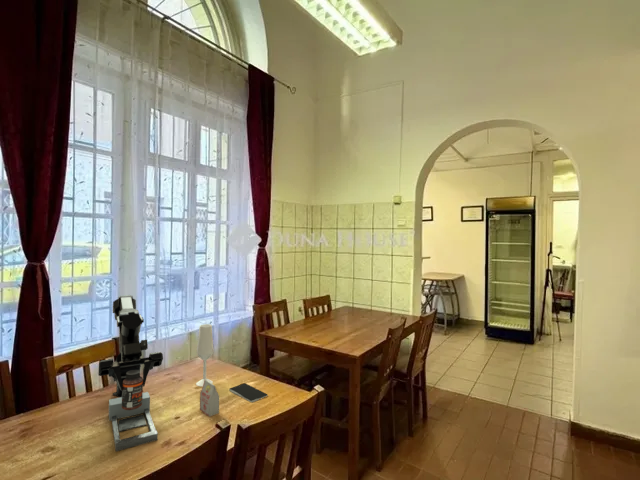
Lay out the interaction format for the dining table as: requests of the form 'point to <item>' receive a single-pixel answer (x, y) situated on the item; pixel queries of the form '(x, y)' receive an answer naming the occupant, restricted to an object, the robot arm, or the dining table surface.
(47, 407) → the dining table surface
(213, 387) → the tea bag
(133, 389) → the supplement bottle
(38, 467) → the dining table surface
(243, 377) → the dining table surface
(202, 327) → the champagne flute
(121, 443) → the grey rectangular frame
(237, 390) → the smartphone
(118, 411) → the gray rotary dial box
